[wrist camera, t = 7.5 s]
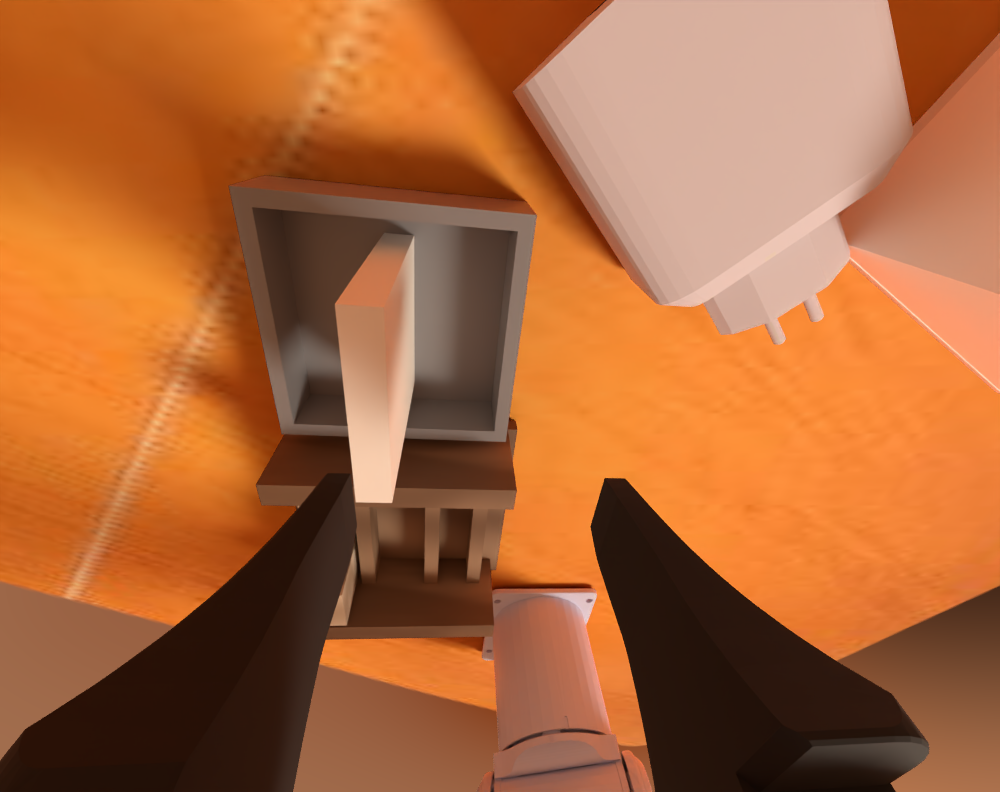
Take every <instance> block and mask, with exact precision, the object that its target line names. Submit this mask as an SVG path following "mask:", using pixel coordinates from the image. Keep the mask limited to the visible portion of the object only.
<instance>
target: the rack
mask: <svg viewBox="0 0 1000 792" xmlns="http://www.w3.org/2000/svg"><path fill="white" fill-rule="evenodd" d="M516 435H517V426H516V421H509V422H508V429H507V436H506V442H492V441H463V440H434V439H405V438H404V442H403V447H402V453H401V458H400V463H399V469H398V474H397V480H396V485H395V490H394V496H393V501H392V503H365V502H356V500H355V491H354V481H353V472H352V462H351V453H350V443H349V437H347V436H318V435H289V434H284V436H283V438H282V440H281V442H280V443H279V445H278V447H277V449H276V450H275V452H274V454H273V456H272V457H271V459H270V461H269V463H268V464H267V466H266V468H265V470H264V472H263V473H262V475H261V477H260V479H259V480H258V482H257V484H256V487H257V491H258V494H259V498H260V502H261V505H275V506H296V509H298V506H300V505H301V504H302V503H303V502H304V501H305V499H306V498H307V497H308V496H309V494H310V493H311V492H312V491H313V489H314V488H315V487H316V486H317V484H318V483H319V482H320V481H321V479H322V478H323V477H324V476H325V475H326V474H327V473H350V474H351V480H352V488H353V496H354V504H355V512H356V519H357V529H356V534H357V543H358V552H359V560H360V570H359V575H358V579H357V583H356V588H355V592H354V596H353V601H352V605H351V609H350V614H349V618H348V622H347V625H346V626H330V627H329V630H328V634H327V637H326V639H383V638H441V637H492V635H493V629H494V615H493V598H492V581H491V570H496V566H497V559H498V553H499V546H500V540H501V533H502V527H503V520H504V513H505V509H514V504H515V498H516V492H517V489H516V482H515V475H514V468H513V454H514V448H515V441H516Z"/></svg>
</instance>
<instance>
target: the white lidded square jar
mask: <svg viewBox="0 0 1000 792" xmlns="http://www.w3.org/2000/svg"><path fill="white" fill-rule="evenodd" d="M838 214H839V218H840V221H841V224H842V227H843V230H844V234H845V237H846V240H847V243H848V246H849V249H850V259H849V261H848V262H849V263H850V264H851V265H853V266H854V267H855V268H856V269H857V270H858V271H859V272H861V273H862V274H863V275H864V276H865V277H866V278H867V279H868V280H870V281H871V282H872V283H873V284H874V285H875V286H876V287H878V288H879V289H880V290H881V291H882V292H883V293H884V294H885V295H887V296H888V297H889V298H890V299H891V300H892V301H893V302H894V303H896V304H897V305H898V306H899V307H900V308H901V309H902V310H904V311H905V312H906V313H907V314H908V315H909V316H910V317H911V318H913V319H914V320H915V321H916V322H917V323H918V324H919V325H920V326H922V327H923V328H924V329H925V330H926V331H927V332H928V333H930V334H931V335H932V336H933V337H934V338H935V339H936V340H937V341H939V342H940V343H941V344H942V345H943V346H944V347H945V348H947V349H948V350H949V351H950V352H951V353H952V354H953V355H954V356H956V357H957V358H958V359H959V360H960V361H961V362H962V363H963V364H965V365H966V366H967V367H968V368H969V369H970V370H971V371H973V372H974V373H975V374H976V375H977V376H978V377H979V378H980V379H982V380H983V381H984V382H985V383H986V384H987V385H988V386H989V387H991V388H992V389H993V390H994V391H995V392H997V393H999V394H1000V33H999V34H998V35H997V36H996V37H995V38H994V39H993V41H992V42H991V43H990V44H989V45H988V46H987V47H986V48H985V49H984V50H983V51H982V52H981V53H980V54H979V56H978V57H977V58H976V59H975V60H974V61H973V62H972V63H971V64H970V65H969V66H968V67H967V68H966V70H965V71H964V72H963V73H962V74H961V75H960V76H959V77H958V78H957V79H956V80H955V81H954V82H953V84H952V85H951V86H950V87H949V88H948V89H947V90H946V91H945V92H944V93H943V94H942V95H941V96H940V98H939V99H938V100H937V101H936V102H935V103H934V104H933V105H932V106H931V107H930V108H929V109H928V110H927V111H926V113H925V114H924V115H923V116H922V117H921V118H920V119H919V120H918V121H917V122H916V123H915V124H914V125H913V134H912V137H911V138H910V140H909V141H908V143H907V145H906V146H905V148H904V149H903V151H902V152H901V154H900V156H899V157H898V159H897V160H896V162H895V163H894V165H893V167H892V168H891V170H890V171H889V173H888V174H887V176H886V178H885V179H884V180H883V181H882V183H880V184H879V185H878V186H877V187H876V188H874V189H873V190H872V191H870V192H869V193H867V194H866V195H864V196H863V197H861V198H860V199H859V200H857V201H856V202H854V203H853V204H851V205H850V206H848V207H847V208H845V209H844V210H842V211H841V212H839V213H838Z"/></svg>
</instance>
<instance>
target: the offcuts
mask: <svg viewBox="0 0 1000 792" xmlns="http://www.w3.org/2000/svg"><path fill="white" fill-rule="evenodd" d="M298 508H299V506H298ZM359 570H360V560H359V552H358V543H357V534H355V540H354V545H353V550H352V555H351V560H350V563H349V567H348V570H347V573H346V576H345V580H344V583H343V586H342V589H341V592H340V596H339V599H338V602H337V605H336V608H335V611H334V615H333V618H332V621H331V624H330V626H346V625H347V622H348V618H349V614H350V609H351V605H352V601H353V596H354V592H355V588H356V583H357V579H358V575H359Z"/></svg>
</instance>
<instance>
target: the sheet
mask: <svg viewBox="0 0 1000 792" xmlns="http://www.w3.org/2000/svg"><path fill="white" fill-rule="evenodd" d="M335 311H336V320H337V330H338V339H339V349H340V358H341V368H342V377H343V386H344V396H345V405H346V415H347V424H348V434H349V443H350V453H351V462H352V472H353V481H354V491H355V500H356V502H365V503H392V501H393V496H394V490H395V485H396V480H397V474H398V469H399V463H400V458H401V453H402V447H403V442H404V437H405V431H406V426H407V420H408V415H409V410H410V404H411V399H412V393H413V388H414V383H415V344H414V235H403V234H392V233H384V234H383V235H382V237H381V238H380V240H379V241H378V242H377V244H376V245H375V247H374V248H373V250H372V251H371V253H370V254H369V255H368V257H367V258H366V260H365V261H364V263H363V264H362V266H361V267H360V268H359V270H358V271H357V273H356V274H355V276H354V277H353V278H352V280H351V281H350V283H349V284H348V286H347V287H346V289H345V290H344V291H343V293H342V294H341V296H340V297H339V299H338V300H337V302H336V303H335Z"/></svg>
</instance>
